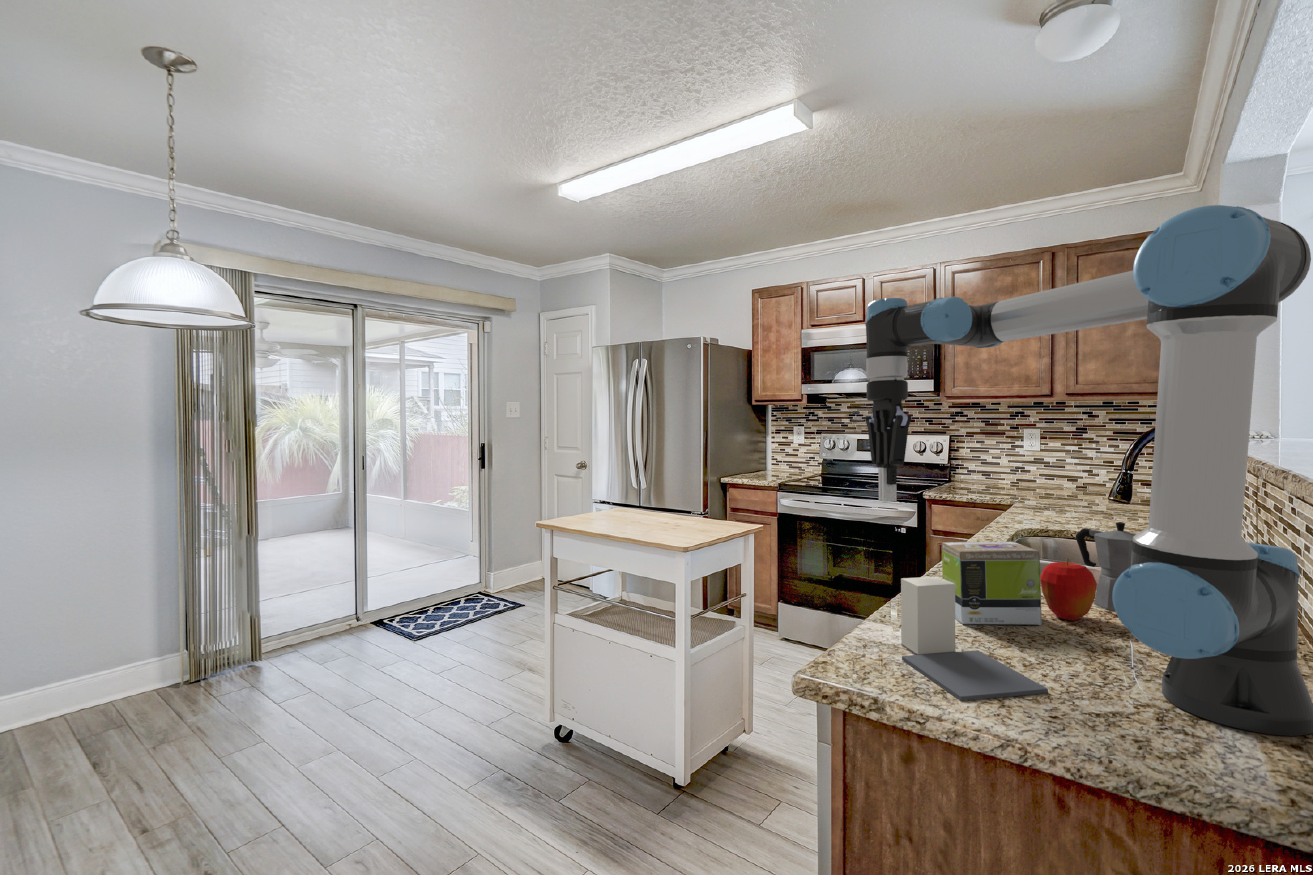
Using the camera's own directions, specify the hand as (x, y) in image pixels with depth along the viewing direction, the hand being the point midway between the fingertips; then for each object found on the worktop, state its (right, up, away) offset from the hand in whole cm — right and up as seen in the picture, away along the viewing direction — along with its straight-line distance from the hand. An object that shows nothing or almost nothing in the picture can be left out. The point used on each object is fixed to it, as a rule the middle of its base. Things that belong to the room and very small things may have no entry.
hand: (887, 500), depth 116 cm
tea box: (+22, -24, +4) cm, 33 cm away
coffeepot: (+52, -24, +10) cm, 58 cm away
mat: (+4, -25, -23) cm, 34 cm away
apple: (+37, -24, +3) cm, 45 cm away
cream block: (+2, -25, -12) cm, 28 cm away
